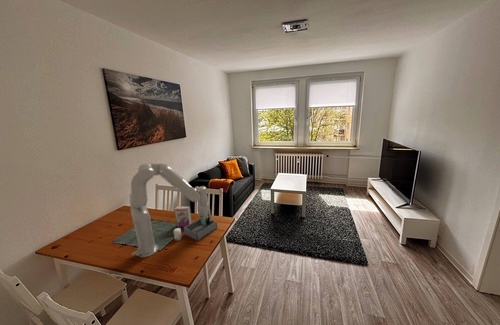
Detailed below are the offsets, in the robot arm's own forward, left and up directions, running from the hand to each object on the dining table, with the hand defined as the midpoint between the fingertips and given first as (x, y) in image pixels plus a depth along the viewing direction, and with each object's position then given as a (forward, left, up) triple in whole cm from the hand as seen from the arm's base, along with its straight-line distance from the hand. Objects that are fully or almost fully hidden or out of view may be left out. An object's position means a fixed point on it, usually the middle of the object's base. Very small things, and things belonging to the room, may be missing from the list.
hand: (205, 222), depth 157 cm
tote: (-5, 0, -5) cm, 7 cm away
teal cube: (0, 0, -1) cm, 1 cm away
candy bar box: (-8, +19, -5) cm, 21 cm away
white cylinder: (-21, +8, -5) cm, 23 cm away
